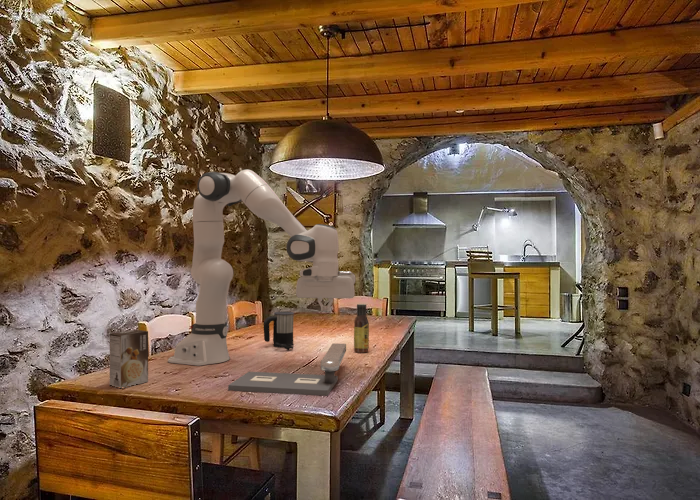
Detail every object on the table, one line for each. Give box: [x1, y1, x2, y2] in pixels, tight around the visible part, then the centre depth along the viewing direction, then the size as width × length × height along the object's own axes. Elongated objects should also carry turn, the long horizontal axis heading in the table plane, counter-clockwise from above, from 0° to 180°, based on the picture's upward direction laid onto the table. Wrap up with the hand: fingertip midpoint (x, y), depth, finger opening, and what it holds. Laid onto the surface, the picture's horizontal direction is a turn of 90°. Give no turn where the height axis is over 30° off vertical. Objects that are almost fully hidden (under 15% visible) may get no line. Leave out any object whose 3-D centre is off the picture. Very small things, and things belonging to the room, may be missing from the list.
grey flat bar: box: [320, 342, 347, 372], centre depth 146 cm, size 30×6×2 cm, turn 175°
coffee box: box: [109, 329, 149, 388], centre depth 136 cm, size 9×6×16 cm
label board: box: [227, 371, 339, 397], centre depth 136 cm, size 30×16×5 cm, turn 81°
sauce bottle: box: [353, 303, 370, 354], centre depth 185 cm, size 7×6×20 cm
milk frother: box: [263, 311, 295, 351], centre depth 193 cm, size 14×16×15 cm
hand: (325, 311), depth 152 cm, fingers closed
